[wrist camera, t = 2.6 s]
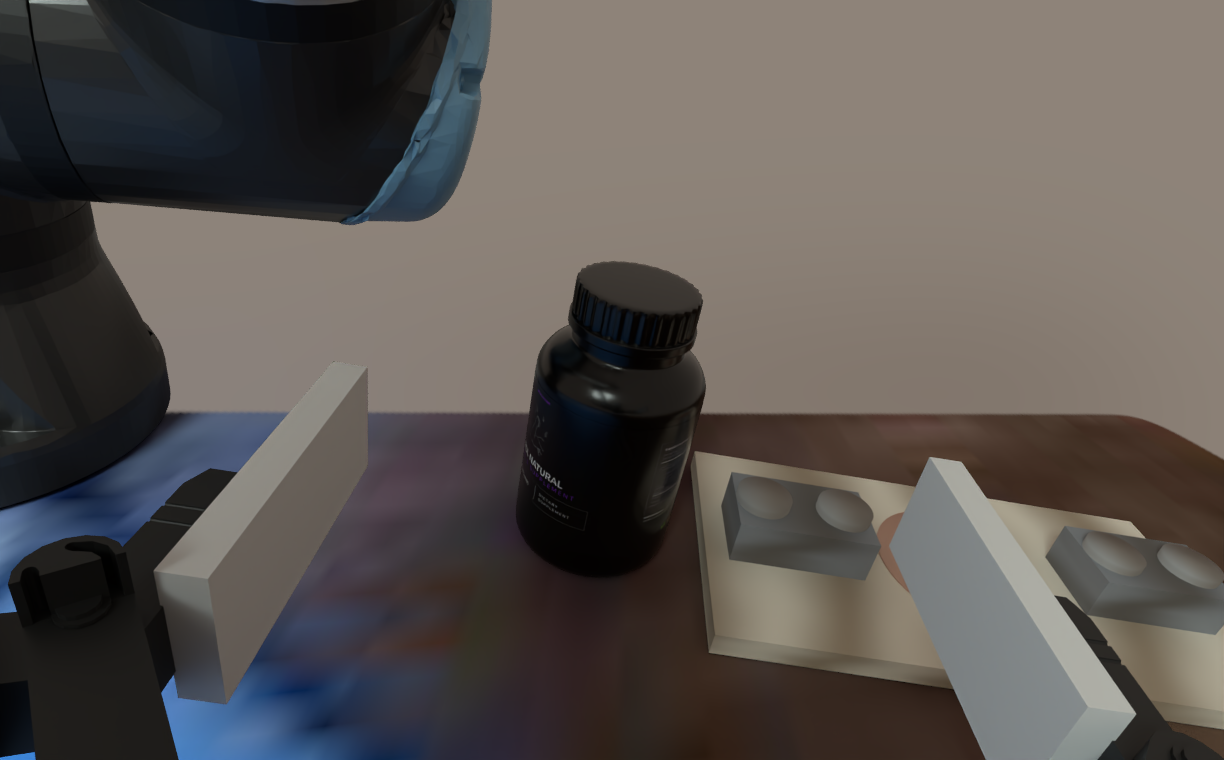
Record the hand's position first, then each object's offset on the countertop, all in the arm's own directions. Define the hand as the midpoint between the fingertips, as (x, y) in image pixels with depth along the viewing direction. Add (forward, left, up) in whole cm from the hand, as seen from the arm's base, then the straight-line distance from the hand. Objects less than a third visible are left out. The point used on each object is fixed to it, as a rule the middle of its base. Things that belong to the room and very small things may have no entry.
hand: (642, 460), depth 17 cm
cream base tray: (+17, +11, -12) cm, 23 cm away
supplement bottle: (0, +11, -12) cm, 16 cm away
